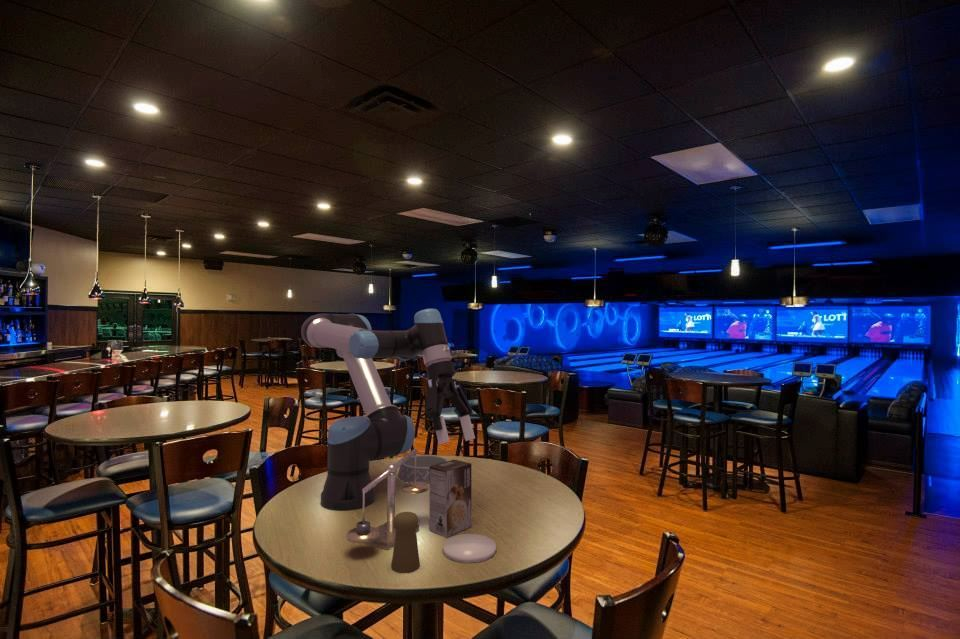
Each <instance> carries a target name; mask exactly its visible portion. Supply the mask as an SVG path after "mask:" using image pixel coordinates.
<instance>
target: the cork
mask: <svg viewBox="0 0 960 639" xmlns="http://www.w3.org/2000/svg"><path fill="white" fill-rule="evenodd" d="M419 524H420V523H419V517H418V515H417V514H416V513H415V512H413V511H402V512H399V513H397V514H395V518H394V528H395V529H396V536H395V543H394V547H393V551H392V559H391V567H390V568H391V570H392V571H393V572H395V573H399V574H409V573H414V572H415V571H417V570H419V569H420V567H421V564H420V563H421V562H420V554H419V547H418V546H419V545H418V538H417V533H416V528H417V527H418V525H419Z"/></svg>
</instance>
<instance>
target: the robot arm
mask: <svg viewBox="0 0 960 639" xmlns="http://www.w3.org/2000/svg"><path fill="white" fill-rule="evenodd" d="M413 320H414V321H413V324H414V325H413V326H412V327H410V328H409V329H407V330H373V329H372V326H371V323H370V321H369V320H368V318H367V317H366V316H364V315H361V314H355V313H347V314H346V313H341V314H340V313H317V314H314V315H311V316H309V317H308V318H307V319H306V320H305V321H304V322H303V324H302V325H301V330H300V331H301V337H302V339H303V341H304V342H305V343H306V344H307V345H309V346H311V347H313V348H314V347H315V348H319V349H322V348H323V349H326V348H327V349H328V348H329V349H334V350H335V352H336V354H337V356H338V357H339V358H342V359H343V360H344V363H345V365H346V368H347V370H348V372H349V373H348V374H349V376H350V379H351V381H352V383H353V386H354V388H355V391H356V394H357V396H358V397H357V398H358V399H359V402H360V404H361V407H362V410H363V412H364V414H365V416H364V415H363V416H362V415H355V416H347V417H343V418H340V419H337V420H335V421H333V422H332V423H331V424H330V425H329V427H328V431H327V438H326V440H327V441H326V442H327V474H326V475H327V476H326V479H325V482H324V485H323V489H322V491H321V493H320V505H321V506H322V507H323V508H326V509H329V510H337V511H345V510H346V511H347V510H355V509H361V508H363V492H362V489H363V488H364V487H366V486H367V485H368V484H370V483H371V482H372V478H371V475H370V461H374V460H379V459H380V460H381V459H384V458H390V457H397V456H399V455H403V454H406V453H408V452H410V451H411V448H412V447H413V444H414V442H415V435H416V431H415V425H414V422H413V419H412V418H411V417H410V416H409V415H406V414H401V411H400V410H399V407H398V406H397V405H394V404H392V402H391V400H390V397H389V396H388V394H387V391H386V388H385V386H384V383H383V381H382V378H381V376H380V374H379V372H378V370H377V367H376V365H375V362H374V360H373V359H376V358H377V359H378V358H379V359H380V358H395V359H398V360H399V361H402V362H406V361H409V360H411V359H414V358H416V357H417V356H418V355H419V354H422V359H423V363H424V366H425V367H426V368H425V371H426V374H427V379H428V380H427V381H425V384H426V400H425V401H426V403H425V415H426V417H427V418H428V420H432V422H433V426H434V429H435V433H436V437H437V442H438V445H439V446H440V445H443V444H446V443H449V442H450V438H449V434H448V430H447V425H446V421H445V417H444V415H442V411H443V408H444V402H445V399H446V400H449V401H450V403H451V404H452V405H453V406H454V408H455V409H456V411H457V412H458V414H459V415H460V417H459V420H460V425H461V429H462V434H463V437H464V440H465V442H468V441H471V440H474V439H476V436H475V432H474V429H473V424H472V421H471V418H470V415H472V414H473V408H472V406H471V404H470V403H469V400H468V398H467V396H466V395H465V392H464V390H463V388H462V385H461V383H460V380H456V381H454V379H453V377H454V376H455V375H456V369H455V366H454V362H453V361H452V359H453V358H452V355H451V348H450V347H449V343H448V338H447V335H446V330H445V326H444V321H443V319H442V316H441V313H440V311H439V310H438V309H437V308H425V309H422V310H419V311H417V312H416V313H414V317H413ZM375 500H376V491H375V488H374V487H373V488H372V489H371V490H369V491H368V492H367V493H365V507H367V506H369V505H370V504H372V503H373V502H374V501H375Z"/></svg>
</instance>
